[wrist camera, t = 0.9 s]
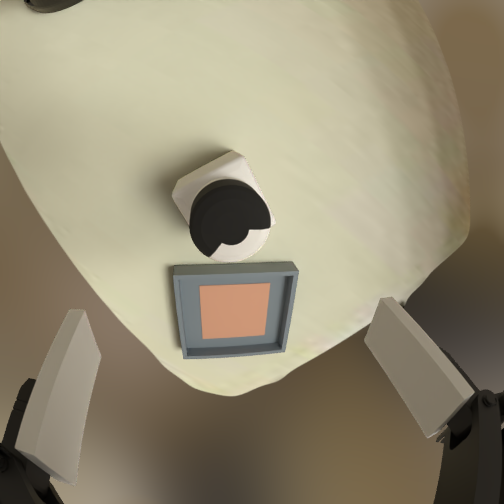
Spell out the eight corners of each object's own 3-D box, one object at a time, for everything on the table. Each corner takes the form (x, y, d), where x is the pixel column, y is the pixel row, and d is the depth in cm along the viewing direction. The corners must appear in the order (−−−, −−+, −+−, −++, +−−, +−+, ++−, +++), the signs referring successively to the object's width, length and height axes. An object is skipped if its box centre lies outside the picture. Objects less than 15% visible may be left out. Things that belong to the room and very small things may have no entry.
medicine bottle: (176, 180, 28) (162, 211, 18) (234, 149, 28) (255, 160, 18) (207, 232, 32) (212, 288, 21) (261, 204, 31) (295, 245, 21)
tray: (174, 265, 33) (172, 275, 30) (292, 261, 35) (298, 270, 33) (183, 347, 39) (183, 359, 36) (280, 341, 41) (284, 351, 39)
